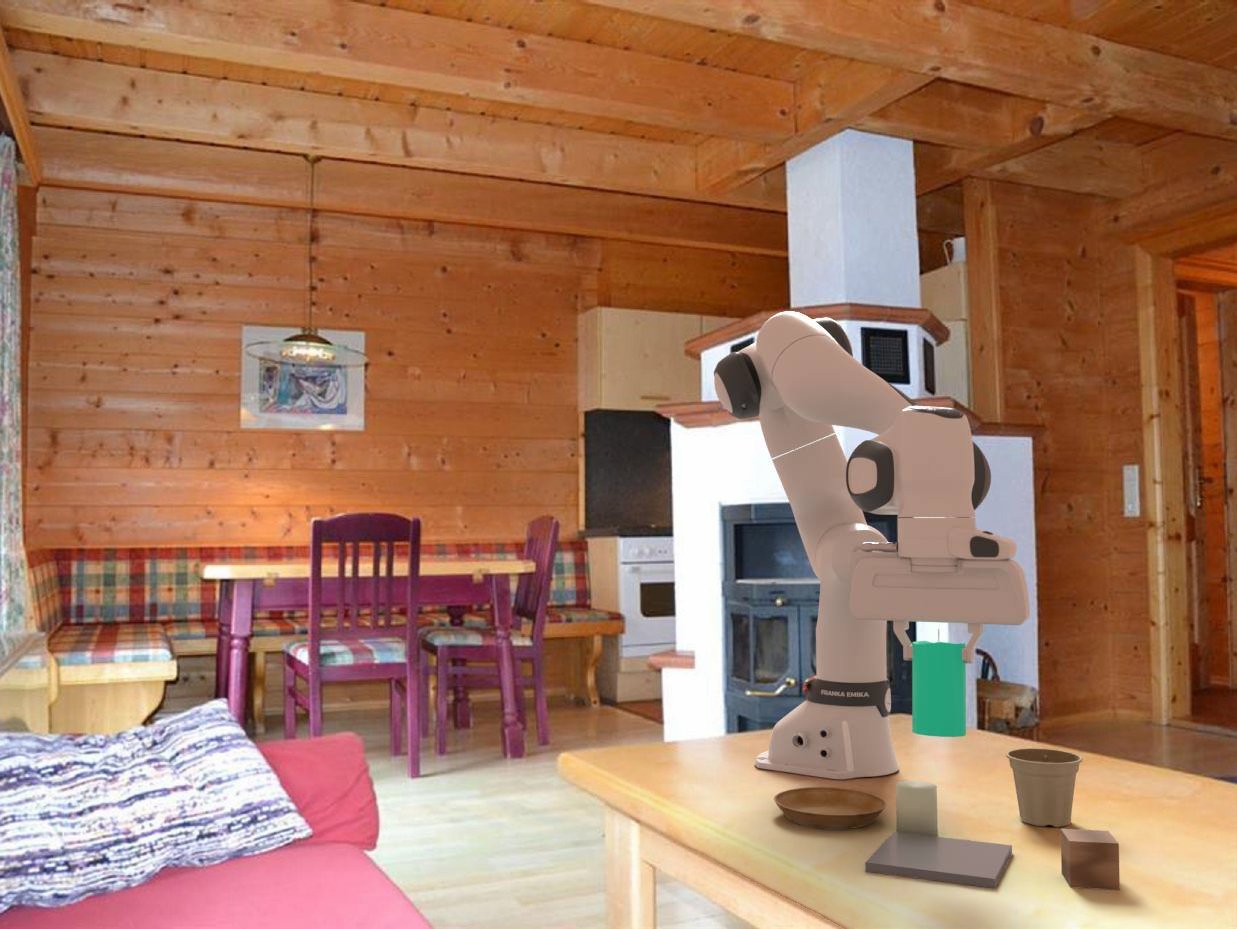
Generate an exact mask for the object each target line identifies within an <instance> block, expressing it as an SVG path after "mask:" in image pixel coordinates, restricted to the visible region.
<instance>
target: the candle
mask: <svg viewBox="0 0 1237 929" xmlns="http://www.w3.org/2000/svg"><path fill="white" fill-rule="evenodd" d="M911 643H912V646H913V659H912V660H911V663H912V664H911V668H912V670H911V677H912V678H911V680H912V681H911V683H912V684H911V685H912V686H911V687H912V688H911V690H912V692H911V694H912V696H911V698H912V701H911V702H912V703H911V704H912V706H911V708H912V710H911V713H912V714H911V716H912V718H911V719H912V720H911V721H912V723H911V724H912V727H911V728H912V732H911V733H913V734H916V735H921V736H927V737H938V738H960V737H965V736H966V735H967V707H966V706H967V704H966V703H967V701H966V700H967V699H966V698H967V695H966V694H967V692H966V691H967V689H966V687H967V685H966V682H967V680H966V677H967V676H966V674H967V673H966V669H967V668H966V667H967V666H966V664H967V663H963V661H962V648H964V647H966V643H964V642H961V643H960V642H955V643H953V642H950V641H948V642H944V641H940V628H937V642H931V641H926V640H918V641H911Z"/></svg>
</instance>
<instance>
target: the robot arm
mask: <svg viewBox="0 0 1237 929" xmlns="http://www.w3.org/2000/svg"><path fill="white" fill-rule="evenodd" d="M755 340H756V341H755V342H754V343H752V344H750V345H748V346H746V347H744V348H742V349H741V350H738V351H737V352H736V351H732V352H730V353H729V354H728V355H726V356H724V357H723V358H721V359H720V360H719V361H718V362H717V364H716V366H715V368H714V371H713V376H714V377H713V378H714V383H713V384H714V390H715V393H716V396H717V398H718V400H719V402H720V404H721V406H722V407H723V408H724V409H725V410H727V412H728V413H729V415H730V416H732V417H735V418H736V419H739V420H743V419H750V418H755V417H758V419H759V420H758V421H759V424H760V427H761V432H762V435H763V439H764V441H765V445H766V447H767V451H768V453H769V456H770V459H772V464H773V466H774V468H775V471H776V474H777V475H778V477H779V481H780V483H781V485H782V487H783V490H784V492H785V495H786V497H787V499H788V502H789V505H790V508H791V511H792V513H793V516H794V520H795V524H796V526H797V530H798V532H799V536H800V538H801V541H802V545H803V547H804V549H805V552H806V555H807V558H808V560H809V564H810V565H811V568H812V571H813V573H814V574H815V576H816V577H817V578H818V580H819V583H820V584H819V602H818V610H817V611H818V613H817V622H816V627H815V653H816V654H815V655H816V656H815V659H816V661H815V662H816V666H815V667H816V675H814V676H812V677H810V678H809V679H808V681H805V682H804V684H803V685H802V687H803V689H802V692H804V697H805V699H806V700H804V701H803V702H802V703H800V704H799V705H798V706H796V707H795V708H794V709H792V710H791V711H790V712H789V713H787V714H786V715H785V716H783V717H782V718H781V719H780V720H779V721H777V722H776V724H775V725H774V726H773V728H772V731H771V735H770V739H769V745H768V746H769V747H768V750H766V751H763V752H761V753H759V754H758V755H757V756H756V758H755V762H754V763H755V764H754V765H755V766H756V768H759V769H764V770H770V771H771V770H772V771H778V772H785V773H790V774H791V773H792V774H797V775H805V776H812V777H818V778H825V779H832V780H847V779H855V778H864V777H865V778H866V777H870V778H871V777H879V776H886V775H891V774H894V773H896V772H898V771H899V770H900V767H899V764H898V762H897V758H896V754H895V750H894V746H893V740H892V735H891V725H890V717H889V716H890V713H891V710H892V709H891V708H892V706H891V705H892V698H891V696H892V695H891V694H892V693H891V686H890V680H889V679H888V678H887V672H888V671H887V669H888V668H887V626H888V625H887V623H888V622H889V621H890V622H891V621H892V622H893V624H892V626H893V630H892V631H893V632H894V634H895V636H896V637H897V640H898V641H899V642H900V644H901V646H902V647H903V648H902V650H903V651H902V652H903V653H902V654H903V655H902V656H903V661H912V659H913V646H912V641H911V640H910V638H909V636H908V634H907V633H906V631H907V630H909V629H910V625H909V624H910V622H917V623H918V622H920V623H942V624H943V623H944V624H946V623H947V624H967V633H968V634H972V635H971V637H970V639H969V641H968V642H967V644H966V645H965V647H964V648H962V661H963V663H966V664H970V665H971V664H973V663H974V661H975V660H974V659H975V656H974V655H975V654H974V652H975V651H974V648H975V647H976V645H977V644H978V642H979V640H980V638H981V636H982V635H983V633H984V625H995V626H997V625H999V626H1001V625H1002V626H1022V625H1023V624H1024V623H1026V621H1027V620H1028V619H1029V618H1030V598H1029V590H1028V584H1027V580H1026V575H1025V572H1024V569H1023V568H1022V566H1021V564H1020V563H1018V562H1017V561H1016V560H1013V558H1014V557H1016V555H1017V551H1018V550H1017V547H1018V546H1017V544H1016V541H1014V540H1013V539H1011V538H1008V537H1005V536H1000V535H998V534H994V533H993V532H991V531H988V530H985V531H983V530H980V529H977V526H976V512H975V511H976V509H978V508H979V507H980V505H982V503H983V501H984V500H985V499H986V497H987V496H988V494H989V491H990V487H991V483H992V472H991V468H990V465H989V462H988V459H987V458H986V456H985V454H984V453H983V451H982V450H981V448H980V447H979V446H978V445H977V444H976V443H975V442H974V441H973V436H972V435H973V434H972V430H971V427H970V423H969V419H968V417H967V415H966V413H964V412H962V411H961V410H958V409H957V408H953V407H952V408H951V407H944V406H932V405H918V403H916V402H915V401H914V400H913V399H912V398H910V397H909V396H908V395H906V394H905V393H904V392H903V391H902V390H900V388H897V387H896V386H895V385H893V384H891V382H888V381H887V380H886V379H884V378H882V377H880V376H879V375H877V373H875V372H873V371H872V370H870V369H869V368H867V367H866V366H864V365H863V364H862V363H860V361H858V360H857V358H854V355H853V347H852V344H851V341H850V338H849V336H848V335H847V333H846V332H845V331H844V329H843V327H842V326H841V324H839V323H838V322H837V321H836V320H834V319H832V318H830V317H822V318H815V319H811V318H810V317H808V316H807V315H805V314H802V313H800V312H797V311H796V312H795V311H783V312H779V313H777V314H775V315H773V316H770V318H769V319H768V320H766V321H765V322H764V323H763V325H762V326H761V327H760V329H759V332H758V334H757V336H756V339H755ZM833 426H837V427H844V428H845V427H846V428H853V429H857V430H862V431H867V432H870V433H873V434H876V435H877V436H875V437H873V438H871V439H865V440H863V441H862V442H861V443H859V444H858V445H857V446H856V448H855V449H854V450H853V451H852V452H851V454H850V456H849V458H848V460H847V458H846V456H845V453H844V450H843V448H842V446H841V443H840V442H839V438H838V436H837V434H836V431H835V429H834V427H833ZM864 512H865V513H871V514H875V515H885V516H886V515H893V516H894V515H897V542H890V541H889V542H888V539H887V538H886V537H885V536H884V535H883V533H882V532H880V531H879V530H878V529H876V528H874V527H872V526H871V525H868V523H867V521H866V517H865V514H864Z"/></svg>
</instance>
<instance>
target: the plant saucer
mask: <svg viewBox="0 0 1237 929" xmlns="http://www.w3.org/2000/svg"><path fill="white" fill-rule="evenodd" d="M773 801H774V802H775V805H776V806H777V807H778V808H779V810H781V812H782V813H783V814H784V815H785V816H786V817H787V818H788V819H789V820H790V821H792V822H794V823H796V824H798V825H801V826H805V827H808V828H809V827H811V828H815V829H824V830H825V829H827V830H846V829H847V830H848V829H856V828H861V827H865V826H868V825H869V824H871V823H872V822H874V820H876V819H877V817H879V816H880V815H881V813H882V812H883V811H884V810H885V808H886V807H887V802H886V800H885V799H884V798H883V797H881V796H878V795H876V794H873V793H871V792H867V791H862V790H858V789H851V788H843V787H831V786H828V787H827V786H807V787H800V788H799V787H798V788H791V789H787V790H784V791H781V792H778V793H777V794H775V795H774V797H773Z"/></svg>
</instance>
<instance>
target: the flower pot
mask: <svg viewBox="0 0 1237 929" xmlns="http://www.w3.org/2000/svg"><path fill="white" fill-rule="evenodd" d="M1005 757H1006V758H1007V759H1008V761H1009V766H1010V768H1011V769H1012V775H1013V780H1014V785H1015V786H1014V787H1015V792H1016V798H1017V805H1018V811H1019V817H1020V819H1021V821H1022V822H1023V823H1026V824H1028V825H1033V826H1037V827H1046V826H1052V827H1054V828H1061V827H1062V828H1063V827H1065V826H1069V825H1070V824H1071V822H1072V811H1073V804H1074V802H1073V801H1074V795H1075V794H1074V793H1075V786H1076V784H1075V783H1076V779H1077V773H1078V772H1079V771H1080V769H1079V768H1080V764H1081V763H1082V762H1083V757H1082V755H1080V754H1077V753H1074V752H1072V751H1067V750H1066V751H1065V750H1061V749H1053V748H1041V747H1040V748H1039V747H1025V748H1023V747H1022V748H1015V749H1010V750H1008V751H1006V752H1005Z"/></svg>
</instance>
